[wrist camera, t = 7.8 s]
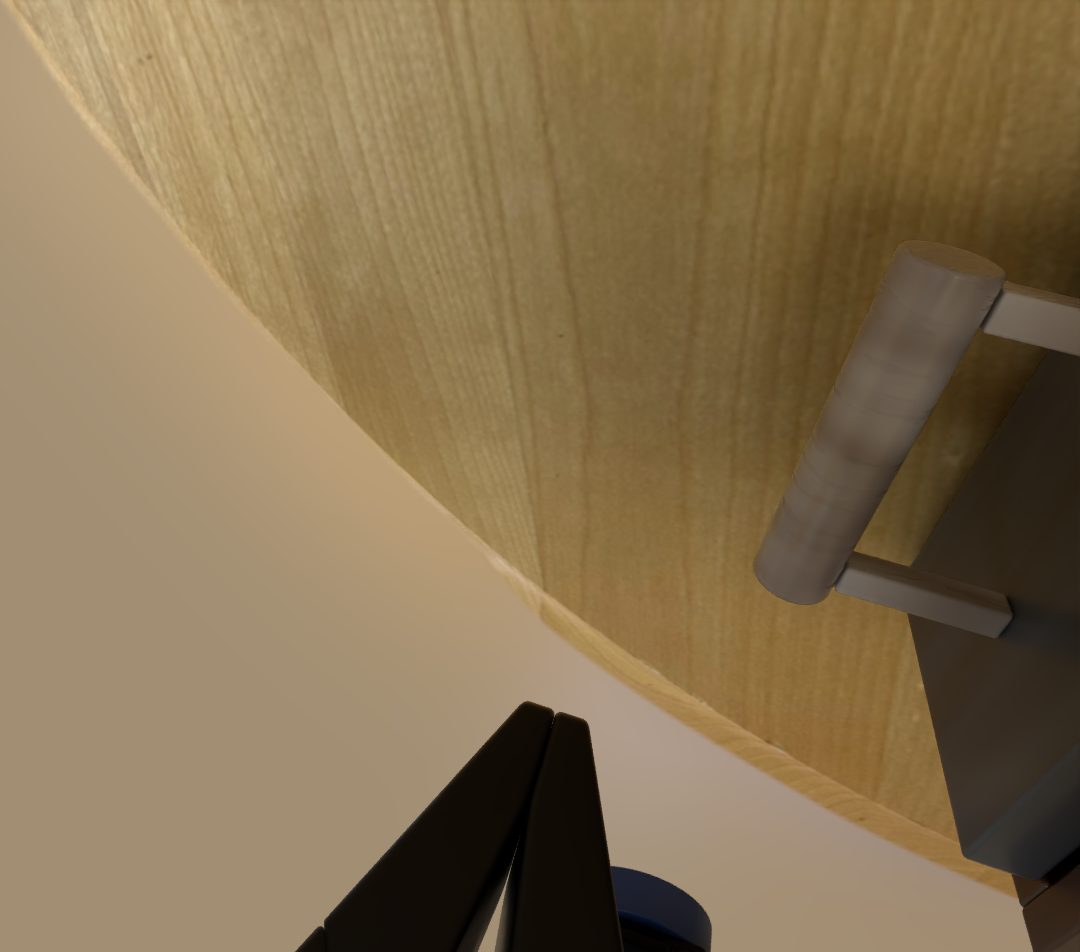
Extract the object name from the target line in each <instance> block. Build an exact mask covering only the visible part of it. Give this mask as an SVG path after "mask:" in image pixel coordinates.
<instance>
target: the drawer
mask: <svg viewBox="0 0 1080 952" xmlns="http://www.w3.org/2000/svg"><path fill="white" fill-rule="evenodd" d="M1006 276H1007V274H1006V272H1005V271H1004V270H1003V269H1002V268H1001V267H999V266H998V265H997V264H995V263H994V262H992V261H990V260H988V259H986V258H984V257H982V256H979V255H977V254H974V253H972V252H969V251H966V250H963V249H960V248H957V247H953V246H950V245H946V244H941V243H936V242H931V241H923V240H910V241H904V242H902V243H901V244H900V245H899V246H898V247H897V249H896V251H895V253H894V255H893V258H892V260H891V262H890V264H889V266H888V268H887V271H886V273H885V275H884V277H883V279H882V281H881V284H880V286H879V288H878V290H877V292H876V295H875V297H874V299H873V301H872V303H871V305H870V308H869V310H868V312H867V314H866V316H865V319H864V321H863V323H862V325H861V327H860V329H859V332H858V334H857V336H856V338H855V340H854V342H853V345H852V347H851V349H850V351H849V353H848V356H847V358H846V360H845V362H844V364H843V366H842V369H841V371H840V373H839V375H838V377H837V379H836V382H835V384H834V386H833V388H832V390H831V393H830V395H829V397H828V399H827V401H826V403H825V406H824V408H823V410H822V412H821V414H820V416H819V419H818V421H817V423H816V425H815V427H814V430H813V432H812V434H811V436H810V438H809V440H808V443H807V445H806V447H805V449H804V451H803V453H802V456H801V458H800V460H799V462H798V464H797V467H796V469H795V471H794V473H793V475H792V477H791V480H790V482H789V484H788V486H787V488H786V490H785V493H784V495H783V497H782V499H781V501H780V504H779V506H778V508H777V510H776V512H775V514H774V517H773V519H772V521H771V523H770V525H769V528H768V530H767V532H766V534H765V536H764V538H763V541H762V543H761V545H760V547H759V549H758V551H757V554H756V556H755V558H754V561H753V568H754V573H755V575H756V577H757V579H758V580H759V582H760V583H761V584H762V585H763V586H764V587H765V588H766V589H767V590H768V591H769V592H771V593H772V594H774V595H775V596H777V597H779V598H781V599H783V600H785V601H788V602H791V603H795V604H801V605H812V604H816V603H819V602H821V601H822V600H824V599H825V598H826V597H827V596H828V594H829V593H830V591H831V589H832V587H833V586H834V584H835V590H836V591H837V592H839V593H842V594H846V595H849V596H852V597H856V598H859V599H863V600H866V601H869V602H873V603H876V604H880V605H883V606H886V607H890V608H893V609H897V610H900V611H903V612H907V614H908V618H909V623H910V627H911V631H912V636H913V640H914V644H915V649H916V653H917V658H918V662H919V666H920V671H921V675H922V679H923V684H924V688H925V693H926V697H927V701H928V706H929V710H930V714H931V719H932V723H933V728H934V732H935V736H936V741H937V745H938V749H939V754H940V758H941V763H942V767H943V771H944V776H945V780H946V784H947V789H948V793H949V798H950V802H951V806H952V811H953V815H954V819H955V824H956V828H957V833H958V837H959V841H960V846H961V850H962V854H963V856H964V857H965V858H967V859H969V860H972V861H975V862H978V863H981V864H984V865H987V866H990V867H993V868H996V869H999V870H1002V871H1005V872H1008V873H1011V874H1014V875H1017V876H1020V877H1023V878H1026V879H1029V880H1035V881H1036V880H1040V879H1041V878H1042V877H1043V876H1045V875H1046V874H1047V873H1048V872H1049V871H1051V870H1052V869H1053V868H1054V867H1055V866H1057V865H1058V864H1059V863H1060V862H1062V861H1063V860H1064V859H1065V858H1066V857H1068V856H1069V855H1070V854H1071V853H1073V852H1074V851H1075V850H1076V849H1077V848H1079V847H1080V299H1079V298H1074V297H1070V296H1066V295H1062V294H1058V293H1053V292H1049V291H1045V290H1041V289H1037V288H1032V287H1028V286H1024V285H1020V284H1016V283H1011V282H1007V281H1006ZM979 327H980V328H981V330H982V331H983V332H984V333H986V334H990V335H994V336H998V337H1002V338H1006V339H1010V340H1014V341H1018V342H1022V343H1026V344H1031V345H1035V346H1039V347H1043V348H1047V349H1049V351H1048V352H1047V354H1046V355H1045V357H1044V359H1043V360H1042V362H1041V363H1040V365H1039V366H1038V368H1037V369H1036V371H1035V373H1034V374H1033V376H1032V377H1031V379H1030V380H1029V382H1028V384H1027V385H1026V387H1025V388H1024V390H1023V391H1022V393H1021V394H1020V396H1019V398H1018V399H1017V401H1016V402H1015V404H1014V405H1013V407H1012V409H1011V410H1010V412H1009V413H1008V415H1007V416H1006V418H1005V419H1004V421H1003V423H1002V424H1001V426H1000V427H999V429H998V430H997V432H996V434H995V435H994V437H993V438H992V440H991V441H990V443H989V444H988V446H987V448H986V449H985V451H984V452H983V454H982V455H981V457H980V458H979V460H978V462H977V463H976V465H975V466H974V468H973V469H972V471H971V473H970V474H969V476H968V477H967V479H966V480H965V482H964V483H963V485H962V487H961V488H960V490H959V491H958V493H957V494H956V496H955V498H954V499H953V501H952V502H951V504H950V505H949V507H948V508H947V510H946V512H945V513H944V515H943V516H942V518H941V519H940V521H939V523H938V524H937V526H936V527H935V529H934V530H933V532H932V533H931V535H930V537H929V538H928V540H927V541H926V543H925V544H924V546H923V547H922V549H921V551H920V552H919V554H918V555H917V557H916V558H915V560H914V562H913V563H912V565H911V566H910V567H908V566H904V565H901V564H897V563H894V562H890V561H887V560H883V559H880V558H876V557H873V556H869V555H866V554H863V553H859V552H856V551H853V550H854V548H855V547H856V545H857V543H858V541H859V540H860V538H861V536H862V534H863V533H864V531H865V529H866V527H867V525H868V524H869V522H870V520H871V518H872V517H873V515H874V513H875V511H876V510H877V508H878V506H879V504H880V502H881V501H882V499H883V497H884V495H885V494H886V492H887V490H888V488H889V487H890V485H891V483H892V481H893V479H894V478H895V476H896V474H897V472H898V471H899V469H900V467H901V465H902V464H903V462H904V460H905V458H906V456H907V455H908V453H909V451H910V449H911V448H912V446H913V444H914V442H915V441H916V439H917V437H918V435H919V434H920V432H921V430H922V428H923V426H924V425H925V423H926V421H927V419H928V418H929V416H930V414H931V412H932V411H933V409H934V407H935V405H936V403H937V402H938V400H939V398H940V396H941V395H942V393H943V391H944V389H945V388H946V386H947V384H948V382H949V380H950V379H951V377H952V375H953V373H954V372H955V370H956V368H957V366H958V365H959V363H960V361H961V359H962V357H963V356H964V354H965V352H966V350H967V349H968V347H969V345H970V343H971V342H972V340H973V338H974V336H975V334H976V333H977V331H978V329H979Z"/></svg>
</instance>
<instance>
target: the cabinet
mask: <svg viewBox="0 0 1080 952" xmlns="http://www.w3.org/2000/svg"><path fill="white" fill-rule="evenodd" d="M1012 877H1013V881H1014V884H1015V888H1016V891H1017V895H1018V898H1019V902H1020V904H1021V906H1022V907H1024V908H1023V916H1024V920H1025V924H1026V927H1027V930H1028V934H1029V938H1030V942H1031V945H1032V948H1033V952H1080V847H1079V848H1077V849H1076V850H1075V851H1074V852H1073V853H1071V854H1070V855H1069V856H1068V857H1066V858H1065V859H1064V860H1063V861H1062V862H1060V863H1059V864H1058V865H1057V866H1055V867H1054V868H1053V869H1052V870H1051V871H1049V872H1048V873H1047V874H1046V875H1045V876H1043V877H1042V878H1041V879H1040V880H1036V881H1035V880H1029V879H1026V878H1023V877H1020V876H1017V875H1014V874H1012Z"/></svg>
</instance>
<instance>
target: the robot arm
mask: <svg viewBox="0 0 1080 952" xmlns="http://www.w3.org/2000/svg"><path fill="white" fill-rule="evenodd" d="M553 719H554V720H553ZM551 726H552V727H551ZM519 837H520V838H519ZM517 844H518V845H517ZM515 851H516V852H515ZM514 854H515V856H514ZM513 858H514V859H513ZM512 861H513V863H512ZM511 865H512V867H511ZM510 867H511V871H510ZM509 871H510V874H509ZM508 874H509V879H508V882H507V887H506V891H505V896H504V901H503V906H502V912H501V918H500V923H499V929H498V935H497V941H496V946H495V952H706V950H705V949H704V948H702V947H700V946H697V945H695V944H692V943H689V942H686V941H684V940H681V939H678V938H675V937H673V936H670V935H667V934H664V933H661V932H659V931H656V930H653V929H650V928H648V927H645V926H642V925H639V924H636V923H634V922H631V921H628V920H625V919H623V918H620V917H618V912H617V905H616V899H615V892H614V886H613V879H612V873H611V866H610V860H609V854H608V847H607V841H606V834H605V827H604V821H603V814H602V808H601V801H600V795H599V789H598V782H597V775H596V769H595V762H594V756H593V749H592V743H591V736H590V730H589V726H588V723H587V722H586V721H585V720H584V719H581V718H578V717H575V716H572V715H569V714H566V713H563V712H559V713H557V714H556V715H555V717H554V711H553V710H552V709H550V708H548V707H545V706H542V705H539V704H536V703H533V702H529V701H526V702H524V703H522V704H521V705H520V706H519V707H518V708H517V709H516V710H515V711H514V712H513V713H512V714H511V715H510V717H509V718H508V719H507V720H506V721H505V722H504V723H503V724H502V725H501V726H500V727H499V729H498V730H497V731H496V732H495V733H494V734H493V735H492V736H491V737H490V738H489V740H488V741H487V742H486V743H485V744H484V745H483V746H482V747H481V748H480V749H479V751H478V752H477V753H476V754H475V755H474V756H473V757H472V758H471V759H470V760H469V762H468V763H467V764H466V765H465V766H464V767H463V768H462V769H461V770H460V771H459V773H458V774H457V775H456V776H455V777H454V778H453V779H452V780H451V782H449V784H448V785H447V786H446V787H445V788H444V789H443V790H442V791H441V792H440V793H439V795H438V796H437V797H436V798H435V799H434V800H433V801H432V802H431V803H430V805H429V806H428V807H427V808H426V809H425V810H424V811H423V812H422V813H421V814H420V816H419V817H418V818H417V819H416V820H415V821H414V822H413V823H412V824H411V826H410V827H409V828H408V829H407V830H406V831H405V832H404V833H403V834H402V835H401V836H400V837H399V839H398V840H397V841H396V842H395V843H394V844H393V845H392V846H391V847H390V849H389V850H388V851H387V852H386V853H385V854H384V855H383V856H382V857H381V858H380V860H379V861H378V862H377V863H376V864H375V865H374V866H373V867H372V868H371V870H370V871H369V872H368V873H367V874H366V875H365V876H364V877H363V878H362V879H361V880H360V881H359V883H358V884H357V885H356V886H355V887H354V888H353V889H352V890H351V891H350V893H349V894H348V895H347V896H346V897H345V898H344V899H343V900H342V902H340V904H339V905H338V906H337V907H336V908H335V909H334V910H333V911H332V912H331V913H330V915H329V916H328V917H327V918H326V919H325V920H324V928H323V927H322V926H320V927H318V928H317V929H315V930H314V932H313V933H312V934H311V935H310V936H309V937H308V938H307V939H306V940H305V942H304V943H303V944H302V945H301V946H300V947H299V948H298V949H297V950H296V951H295V952H478V949H479V947H480V944H481V942H482V940H483V937H484V935H485V933H486V930H487V928H488V925H489V923H490V921H491V918H492V916H493V914H494V911H495V909H496V906H497V904H498V901H499V899H500V896H501V894H502V891H503V888H504V886H505V883H506V880H507V877H508Z"/></svg>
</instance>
